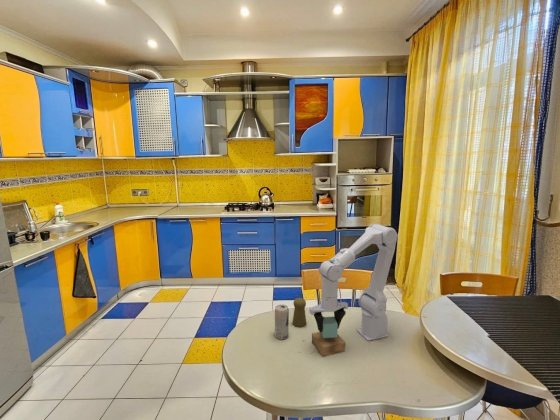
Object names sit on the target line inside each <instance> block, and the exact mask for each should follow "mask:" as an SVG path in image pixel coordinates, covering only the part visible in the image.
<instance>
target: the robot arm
mask: <svg viewBox="0 0 560 420" xmlns="http://www.w3.org/2000/svg"><path fill="white" fill-rule="evenodd" d="M398 237H399V235H398V233H397V231H396V229H394V228H393V227H390V226H389V227H388V226H385V225H382V224H379V223H375V222H373V223H371V224H370V225H369V226H367V227H366V228H365V230H364V233H363V234H362V235H361V236H360V237H359V238H358V239H356V241H355V242H353V244H352V245H351V246H350V247H349V248H345V247H343V248H341V249H340V250H339V252H337V253H336V254H335V255H334V256H333V257H331V258H330V259H329V260H325V261H323V262H322V263H321V264H320V267H319V268H318V273H319V274H320V276H321V277H320V278H321V291H320V292H321V299H320V300H321V301H320V304H317V305H314V306H312V307H309V313H310V315H311V316H314V319H315V322H316V326H317V330H318V332H322V327H323V320H324V317H325V316H323V314H322V313H333V316H334V318H335V320H336V322H337V324H338V330H339V328H340V325H341V323H342V320H343V318H344V317H345V315H346V310H348V308H349V304H348V303H347V302H346V301H338V292H339V290H338V288H339V287H338V286H339V280H340V279H341V278H342V275H343V273H344V271H345V270H346V268H348V267H349V266H350V265H351V264H352V263H354V262H355V260H356V255H359V254H360V253H361V252H362V251H364V250H366V249H367V248H368V247H369V246H371V245H376V246H377V248H378V253H377V257H376V260H375V264H374V267H373V269H372V270H373V271H372V274H371V275H372V276H371V279H370V282H369V285H368V287H366V288H364V289H363V290H362V293H361V295H360V296H359V298H358V305H359V307H360V309H361V311H362V313H361V327H359V328H356V331H357V332H358V333H359V334H360V335H361V336H362V337H363V338H364V339H365V340H367V341H370V342H371V341H374V340H377V339H378V340H379V339H383V338H388V337H389V334H387V333H388V316H387V314H386V311H387V301H388V299H387V296H386V295H385V293H384V289H385V285H386V282H387V279H388V276H389V272H390V269H391V264H392V261H393V257H394V254H395V251H396V250H395V249H396V245H397V244H396V243H397V242H398V241H397V240H398Z"/></svg>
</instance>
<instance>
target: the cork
mask: <svg viewBox="0 0 560 420" xmlns="http://www.w3.org/2000/svg"><path fill="white" fill-rule="evenodd" d="M306 306H307V301H306V300H305V299H304V298H303V297H297V298H294V300H293V307H294V308H293V309H294V310H293V316H292V323H291V324H292V326H293V327H295V328H299V329H302V328H304V327H307V324H308V323H307V317H306V308H305V307H306Z"/></svg>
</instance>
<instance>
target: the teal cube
mask: <svg viewBox="0 0 560 420" xmlns="http://www.w3.org/2000/svg"><path fill="white" fill-rule="evenodd" d="M323 317H324V320H323V327H322V332H321V334H322V336H323V338H333V337H337V334H338V330H339V329H338V324H337V322H336V320H335V318H334V315H332V316H323Z"/></svg>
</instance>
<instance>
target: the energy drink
mask: <svg viewBox="0 0 560 420" xmlns="http://www.w3.org/2000/svg"><path fill="white" fill-rule="evenodd" d="M289 311H290V310H289V307H288V305H285V304H277V305H276V306H275V309H274V337H275V338H276V339H278V340H286V339H288V337H289V333H290V332H289V325H290V324H289V319H290V318H289V313H290V312H289Z"/></svg>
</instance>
